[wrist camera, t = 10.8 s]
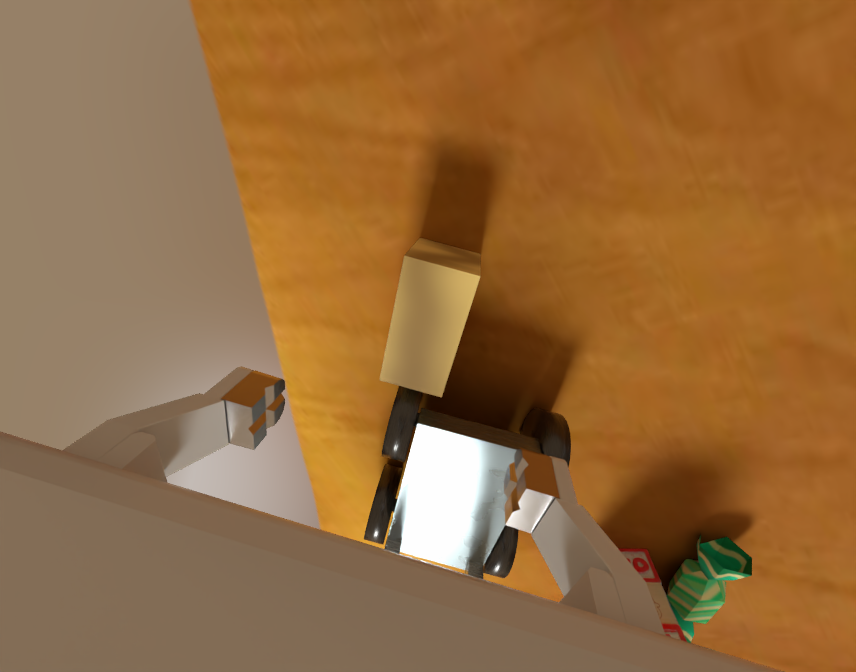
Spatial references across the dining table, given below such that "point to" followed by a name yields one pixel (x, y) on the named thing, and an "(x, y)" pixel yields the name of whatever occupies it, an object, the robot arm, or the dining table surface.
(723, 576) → the candy
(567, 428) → the trolley
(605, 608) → the robot arm
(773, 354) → the dining table surface
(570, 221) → the dining table surface
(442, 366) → the block
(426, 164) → the dining table surface
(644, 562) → the stack of blocks
